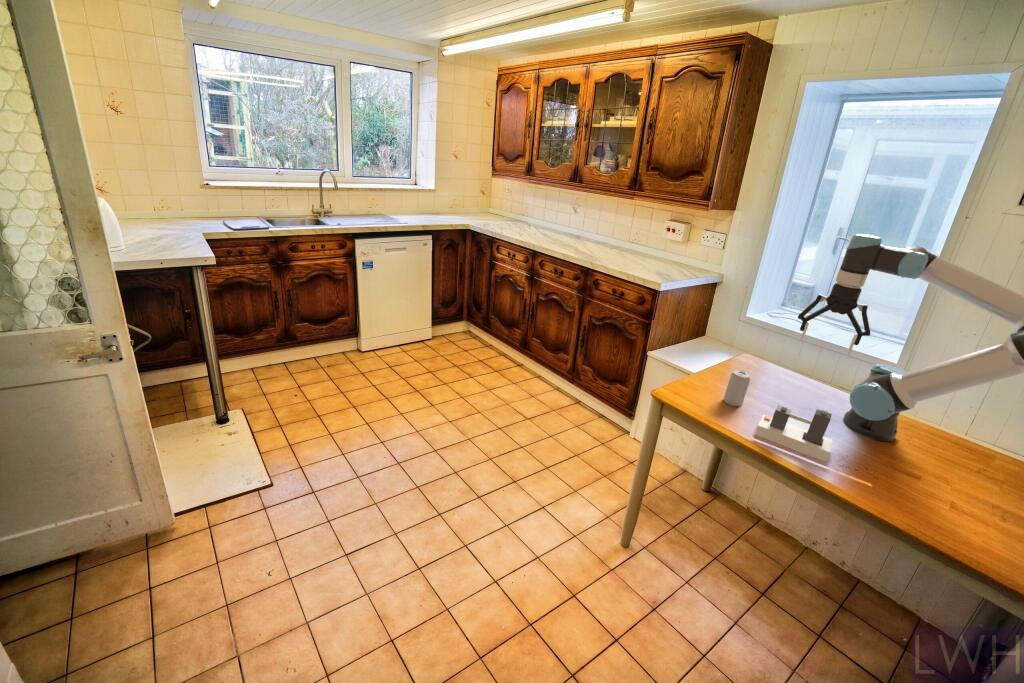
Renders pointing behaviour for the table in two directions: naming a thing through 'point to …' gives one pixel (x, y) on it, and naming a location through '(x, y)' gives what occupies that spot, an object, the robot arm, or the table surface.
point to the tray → (799, 421)
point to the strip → (791, 435)
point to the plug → (818, 426)
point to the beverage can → (737, 388)
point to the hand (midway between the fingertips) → (824, 346)
